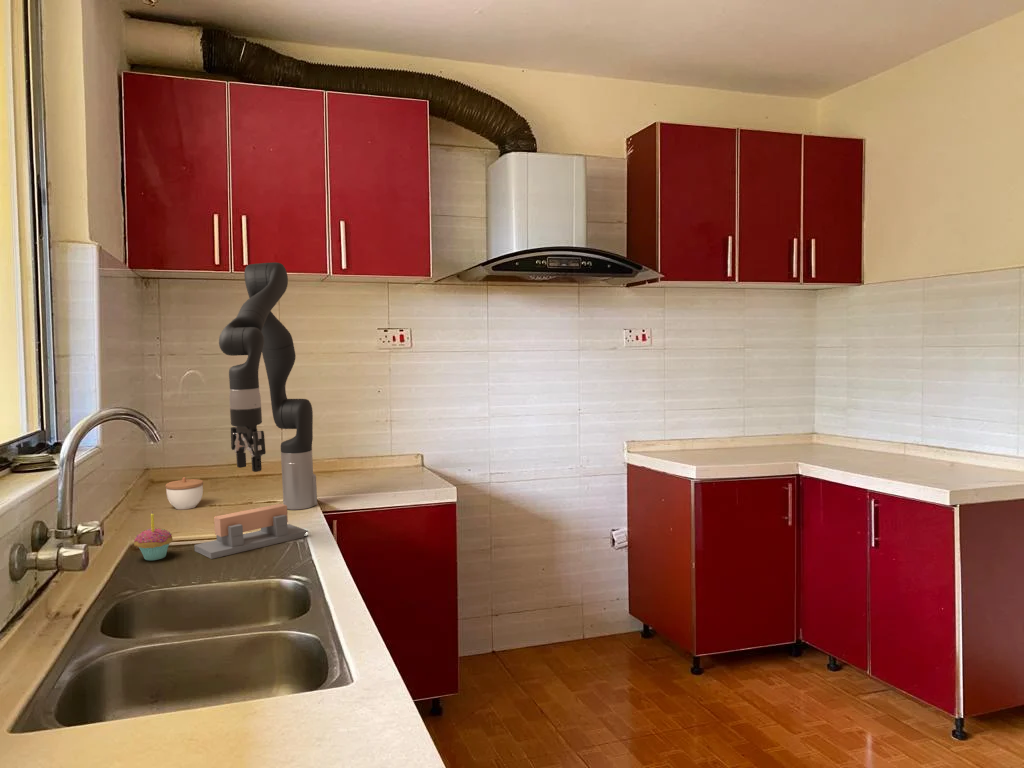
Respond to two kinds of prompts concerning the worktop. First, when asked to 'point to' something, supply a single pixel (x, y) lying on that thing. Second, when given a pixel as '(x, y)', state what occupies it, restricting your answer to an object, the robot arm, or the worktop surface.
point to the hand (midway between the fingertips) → (249, 469)
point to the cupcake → (153, 542)
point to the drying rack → (250, 538)
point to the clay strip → (249, 518)
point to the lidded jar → (184, 493)
